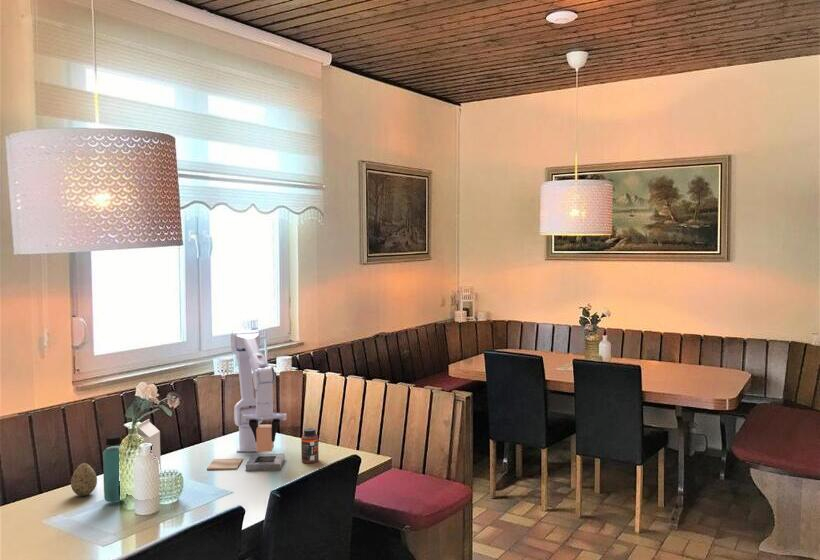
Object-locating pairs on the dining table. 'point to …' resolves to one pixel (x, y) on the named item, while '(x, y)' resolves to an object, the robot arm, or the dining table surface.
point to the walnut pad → (225, 464)
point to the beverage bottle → (111, 469)
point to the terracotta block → (264, 438)
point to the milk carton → (151, 437)
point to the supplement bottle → (309, 446)
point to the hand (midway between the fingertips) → (265, 441)
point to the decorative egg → (83, 480)
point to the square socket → (265, 462)
